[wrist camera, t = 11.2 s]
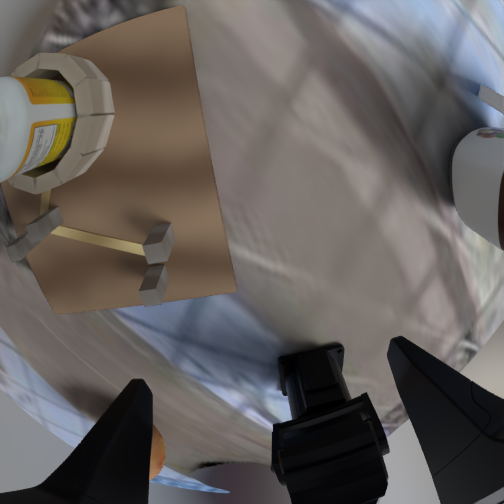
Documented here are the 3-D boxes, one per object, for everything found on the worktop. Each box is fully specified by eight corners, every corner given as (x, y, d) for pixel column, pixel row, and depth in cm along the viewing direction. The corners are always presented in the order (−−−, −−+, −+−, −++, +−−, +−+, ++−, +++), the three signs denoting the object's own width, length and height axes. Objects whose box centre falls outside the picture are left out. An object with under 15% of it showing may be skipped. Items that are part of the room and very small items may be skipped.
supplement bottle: (95, 150, 15) (-6, 193, 7) (35, 164, 15) (-62, 213, 6) (90, 71, 13) (-14, 55, 4) (29, 93, 12) (-73, 106, 4)
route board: (236, 284, 22) (238, 318, 18) (59, 307, 22) (41, 335, 18) (186, 9, 12) (175, -14, 9) (-7, 99, 12) (-39, 104, 9)
